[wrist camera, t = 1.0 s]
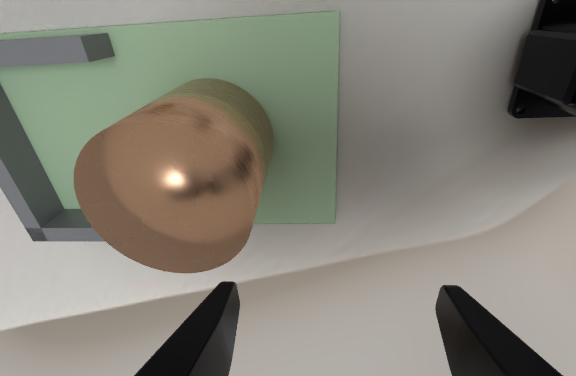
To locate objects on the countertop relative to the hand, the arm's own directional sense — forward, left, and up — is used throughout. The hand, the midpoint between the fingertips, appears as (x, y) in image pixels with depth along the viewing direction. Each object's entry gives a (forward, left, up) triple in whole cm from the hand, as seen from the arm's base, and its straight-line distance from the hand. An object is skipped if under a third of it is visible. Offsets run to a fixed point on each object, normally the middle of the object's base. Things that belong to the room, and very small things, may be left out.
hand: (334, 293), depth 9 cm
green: (+10, 0, -13) cm, 17 cm away
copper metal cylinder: (+7, 0, -12) cm, 14 cm away
